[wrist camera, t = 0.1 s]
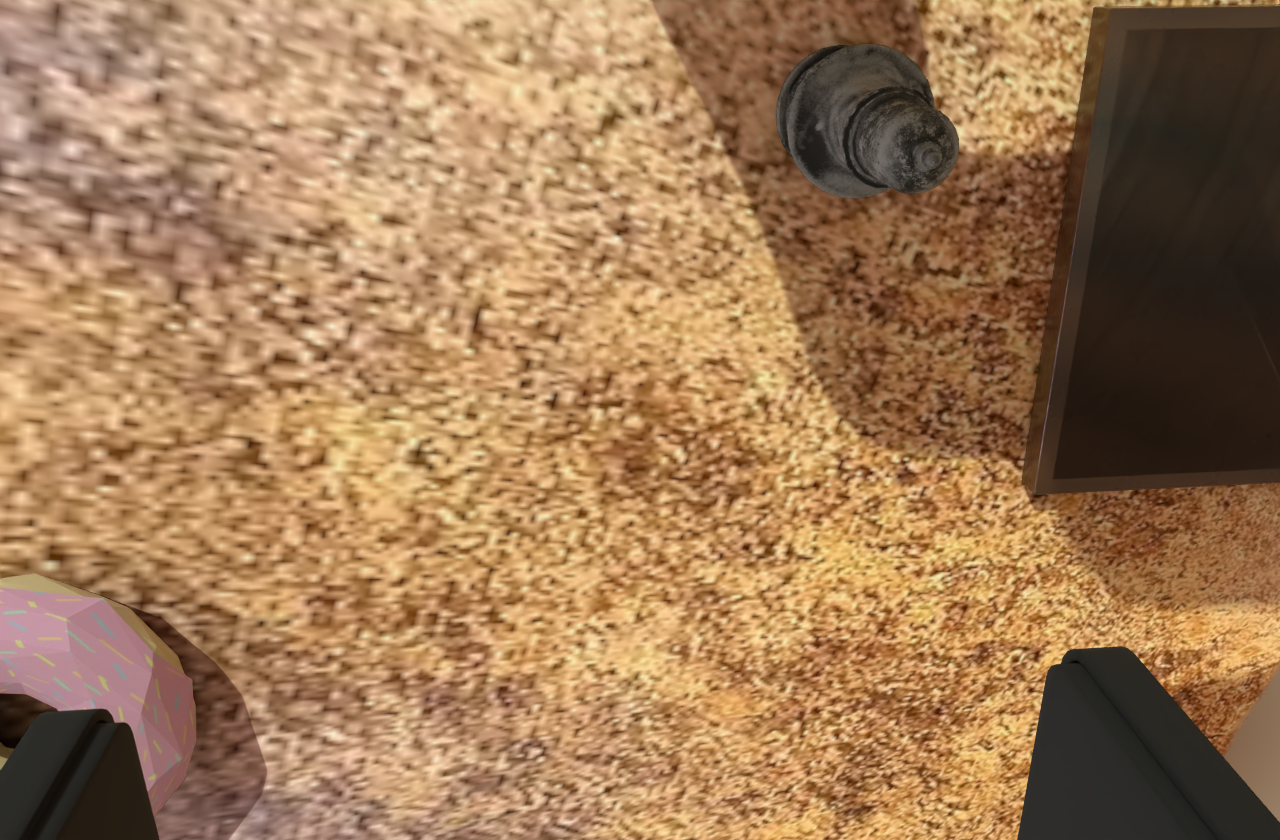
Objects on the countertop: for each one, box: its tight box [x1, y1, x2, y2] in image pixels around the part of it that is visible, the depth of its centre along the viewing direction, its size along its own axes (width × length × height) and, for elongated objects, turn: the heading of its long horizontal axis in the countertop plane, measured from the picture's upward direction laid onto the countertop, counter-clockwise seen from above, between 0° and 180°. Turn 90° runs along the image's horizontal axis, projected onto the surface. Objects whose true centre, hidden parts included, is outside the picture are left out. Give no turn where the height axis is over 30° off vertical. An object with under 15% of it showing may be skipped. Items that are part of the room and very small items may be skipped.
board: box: [1022, 4, 1280, 495], centre depth 48 cm, size 22×15×2 cm
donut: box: [0, 574, 196, 817], centre depth 50 cm, size 16×15×5 cm
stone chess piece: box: [776, 44, 959, 198], centre depth 39 cm, size 6×6×12 cm
